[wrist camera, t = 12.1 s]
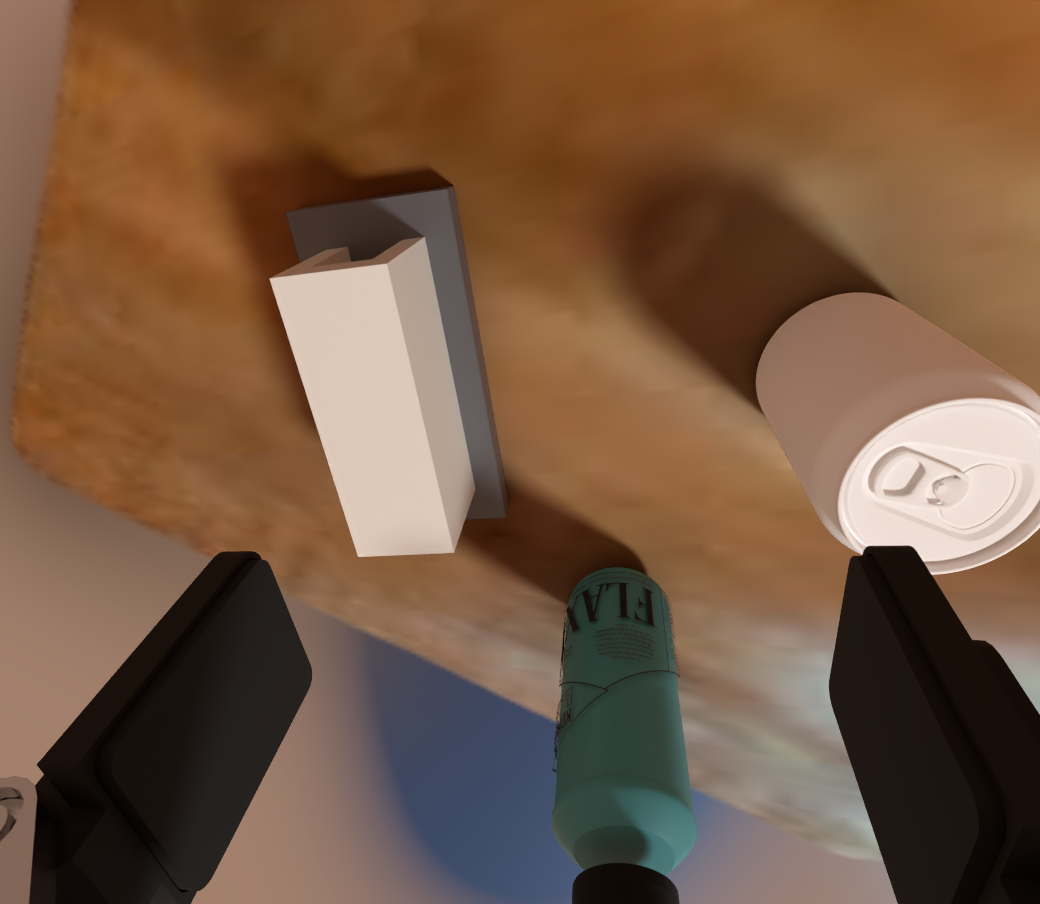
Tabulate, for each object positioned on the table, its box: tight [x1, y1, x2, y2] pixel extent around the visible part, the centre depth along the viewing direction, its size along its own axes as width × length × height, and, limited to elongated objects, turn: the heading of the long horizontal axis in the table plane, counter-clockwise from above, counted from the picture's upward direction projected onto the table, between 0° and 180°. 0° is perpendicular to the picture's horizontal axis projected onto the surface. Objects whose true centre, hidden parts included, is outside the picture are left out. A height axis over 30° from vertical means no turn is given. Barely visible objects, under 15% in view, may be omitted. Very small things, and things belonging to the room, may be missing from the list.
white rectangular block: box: [269, 237, 475, 557], centre depth 31 cm, size 14×5×6 cm, turn 8°
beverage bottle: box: [551, 567, 698, 904], centre depth 32 cm, size 6×7×20 cm
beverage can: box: [756, 293, 1040, 575], centre depth 27 cm, size 8×8×12 cm
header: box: [285, 186, 509, 520], centre depth 32 cm, size 18×8×6 cm, turn 8°
